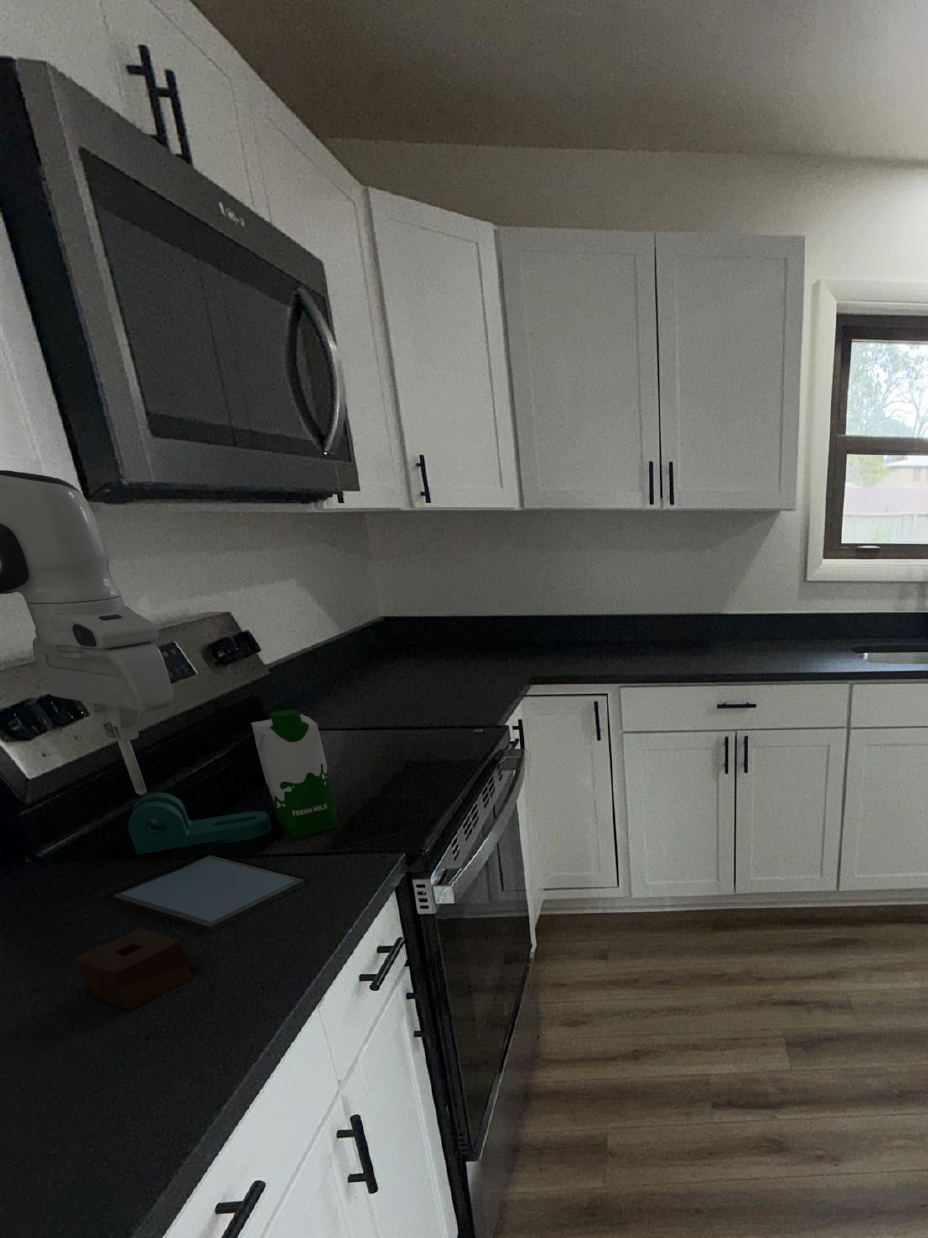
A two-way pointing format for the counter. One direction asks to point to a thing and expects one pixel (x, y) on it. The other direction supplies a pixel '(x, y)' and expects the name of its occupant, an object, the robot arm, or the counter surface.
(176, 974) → the pen holder
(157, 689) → the robot arm
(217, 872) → the plate
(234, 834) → the bracket
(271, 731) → the milk carton
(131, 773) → the stylus
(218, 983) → the counter surface
